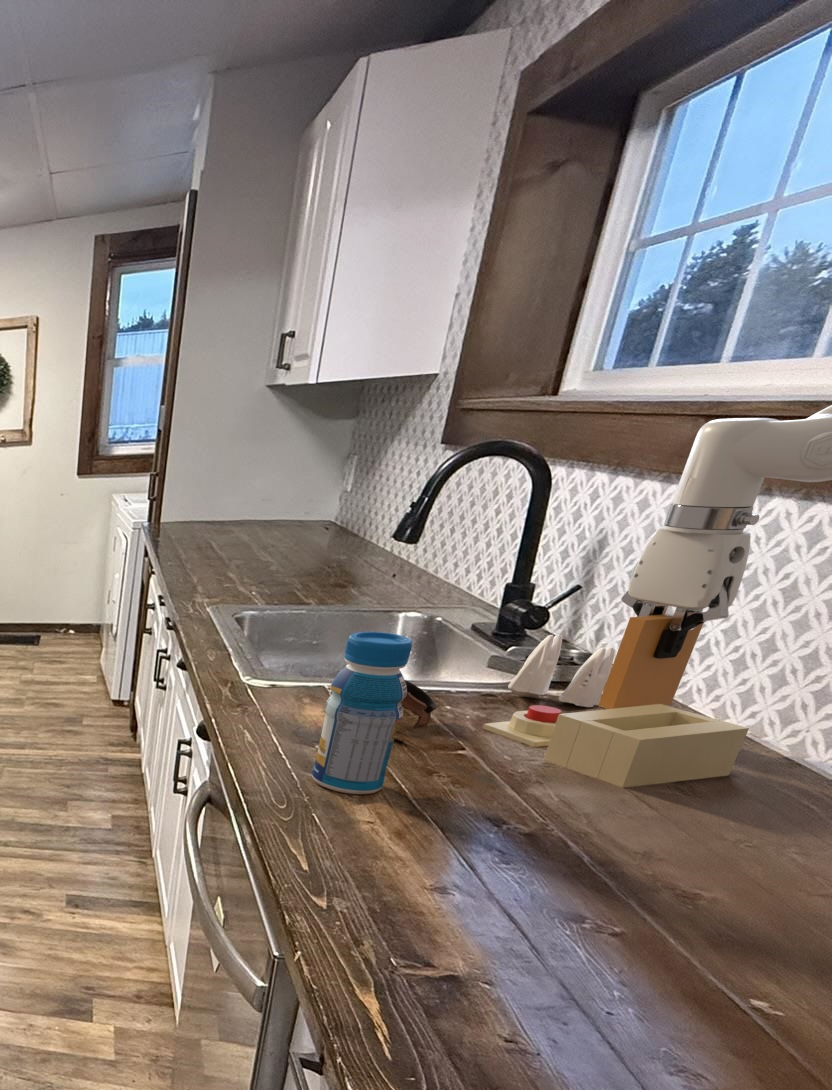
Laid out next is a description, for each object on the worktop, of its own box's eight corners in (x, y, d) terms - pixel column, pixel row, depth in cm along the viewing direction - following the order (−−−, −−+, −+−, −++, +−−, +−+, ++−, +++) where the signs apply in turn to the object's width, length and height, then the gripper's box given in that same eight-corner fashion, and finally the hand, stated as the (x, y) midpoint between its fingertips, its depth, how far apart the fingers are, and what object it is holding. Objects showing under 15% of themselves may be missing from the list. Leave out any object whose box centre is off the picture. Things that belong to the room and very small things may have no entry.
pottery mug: (367, 712, 137) (408, 674, 131) (410, 752, 131) (454, 715, 126) (325, 706, 131) (367, 666, 126) (368, 748, 125) (413, 709, 120)
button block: (537, 731, 125) (545, 706, 123) (591, 750, 118) (600, 723, 116) (479, 737, 123) (487, 712, 122) (530, 756, 116) (539, 730, 115)
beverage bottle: (343, 800, 106) (380, 648, 98) (294, 775, 113) (325, 632, 105) (399, 792, 107) (439, 642, 99) (347, 768, 115) (381, 627, 107)
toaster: (639, 757, 114) (659, 703, 111) (727, 787, 105) (752, 728, 102) (537, 768, 112) (555, 713, 109) (618, 800, 103) (641, 740, 100)
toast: (655, 700, 120) (690, 612, 115) (671, 704, 118) (706, 615, 113) (597, 706, 119) (630, 617, 114) (612, 710, 117) (645, 620, 112)
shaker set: (504, 698, 139) (524, 634, 135) (504, 692, 142) (523, 629, 138) (599, 710, 132) (623, 643, 128) (597, 703, 135) (621, 637, 131)
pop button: (540, 715, 121) (543, 704, 120) (564, 723, 118) (568, 711, 117) (519, 717, 120) (522, 706, 120) (543, 725, 117) (546, 714, 117)
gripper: (805, 524, 102) (743, 668, 109) (662, 512, 116) (616, 639, 123) (755, 527, 101) (696, 672, 108) (617, 514, 115) (573, 643, 122)
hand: (654, 653), depth 116 cm, fingers closed on toast, 2 cm apart
